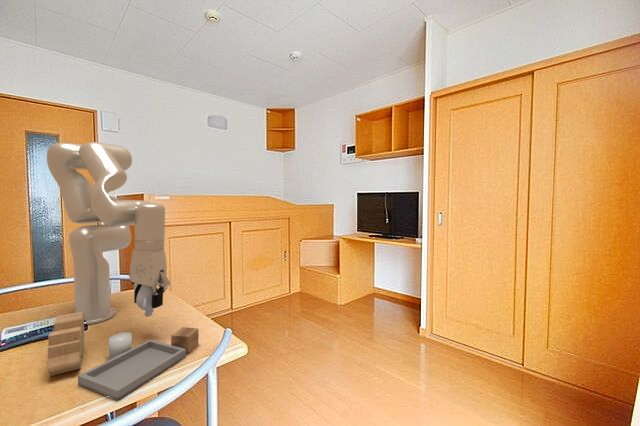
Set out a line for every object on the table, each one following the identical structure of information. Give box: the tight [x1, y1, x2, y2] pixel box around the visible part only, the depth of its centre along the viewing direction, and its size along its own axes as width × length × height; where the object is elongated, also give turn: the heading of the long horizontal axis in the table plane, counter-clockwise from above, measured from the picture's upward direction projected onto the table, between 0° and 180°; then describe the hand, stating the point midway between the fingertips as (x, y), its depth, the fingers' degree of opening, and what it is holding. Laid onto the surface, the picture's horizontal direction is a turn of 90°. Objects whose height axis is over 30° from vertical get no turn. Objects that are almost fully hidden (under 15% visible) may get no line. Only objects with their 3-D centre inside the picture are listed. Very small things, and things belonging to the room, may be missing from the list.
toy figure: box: [135, 285, 159, 317], centre depth 87 cm, size 11×6×12 cm, turn 19°
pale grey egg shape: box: [108, 331, 133, 360], centre depth 78 cm, size 5×5×5 cm
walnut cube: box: [170, 326, 199, 355], centre depth 82 cm, size 5×5×5 cm
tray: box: [77, 339, 187, 402], centre depth 71 cm, size 13×18×2 cm
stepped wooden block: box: [46, 311, 85, 377], centre depth 74 cm, size 6×17×10 cm, turn 36°
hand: (148, 303), depth 88 cm, fingers closed on toy figure, 6 cm apart
